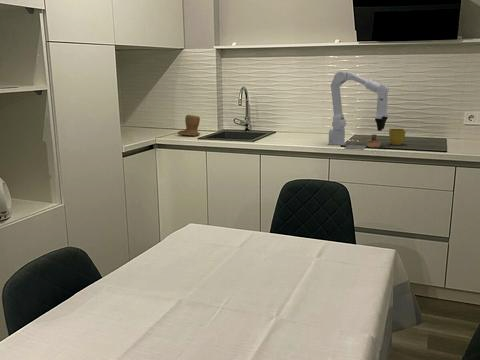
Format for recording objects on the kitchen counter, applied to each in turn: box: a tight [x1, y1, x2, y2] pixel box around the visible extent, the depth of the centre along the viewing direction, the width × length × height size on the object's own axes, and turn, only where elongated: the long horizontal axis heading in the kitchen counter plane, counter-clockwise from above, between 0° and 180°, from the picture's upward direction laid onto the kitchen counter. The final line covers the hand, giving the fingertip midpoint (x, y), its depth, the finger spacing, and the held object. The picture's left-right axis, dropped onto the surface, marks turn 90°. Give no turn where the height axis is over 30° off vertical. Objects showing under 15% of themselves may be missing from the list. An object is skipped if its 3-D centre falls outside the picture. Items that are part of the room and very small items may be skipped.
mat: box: [343, 144, 368, 151], centre depth 284 cm, size 11×11×1 cm
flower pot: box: [388, 128, 407, 146], centre depth 291 cm, size 9×9×9 cm
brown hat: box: [176, 114, 201, 137], centre depth 344 cm, size 15×12×15 cm
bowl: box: [366, 141, 382, 148], centre depth 286 cm, size 8×8×3 cm
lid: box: [366, 134, 382, 143], centre depth 286 cm, size 9×9×4 cm
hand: (380, 129), depth 284 cm, fingers open, 7 cm apart
